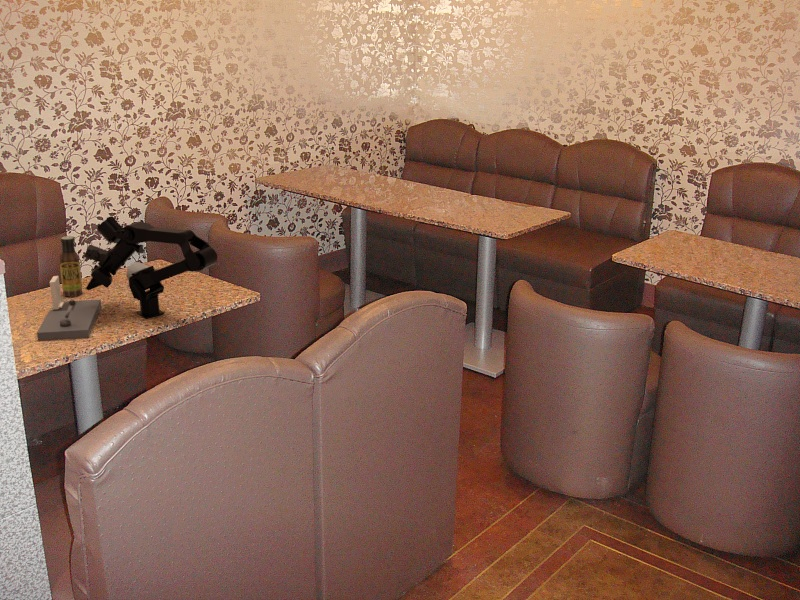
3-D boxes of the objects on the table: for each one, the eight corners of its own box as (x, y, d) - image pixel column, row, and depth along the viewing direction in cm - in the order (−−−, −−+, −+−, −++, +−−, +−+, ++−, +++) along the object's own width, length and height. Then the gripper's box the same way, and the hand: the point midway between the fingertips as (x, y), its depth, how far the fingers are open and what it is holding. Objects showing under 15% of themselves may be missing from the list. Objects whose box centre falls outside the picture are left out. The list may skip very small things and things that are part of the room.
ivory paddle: (64, 302, 252) (61, 275, 249) (61, 309, 247) (57, 281, 244) (54, 303, 252) (50, 276, 248) (50, 309, 246) (46, 282, 243)
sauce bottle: (63, 298, 264) (55, 240, 257) (63, 292, 269) (55, 235, 262) (83, 296, 266) (76, 239, 259) (83, 290, 271) (76, 234, 264)
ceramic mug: (142, 290, 273) (141, 268, 270) (126, 285, 277) (125, 264, 274) (166, 282, 281) (165, 261, 279) (150, 278, 285) (149, 257, 283)
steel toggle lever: (70, 317, 236) (76, 300, 235) (69, 319, 234) (75, 302, 233) (64, 315, 235) (70, 297, 234) (62, 317, 234) (69, 300, 232)
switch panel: (101, 306, 257) (100, 296, 256) (88, 337, 233) (87, 326, 232) (55, 309, 254) (54, 298, 253) (37, 340, 230) (36, 328, 229)
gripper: (102, 229, 253) (70, 263, 254) (94, 245, 236) (60, 282, 237) (131, 251, 257) (99, 285, 259) (125, 269, 240) (91, 305, 242)
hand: (87, 289), depth 249 cm, fingers closed
